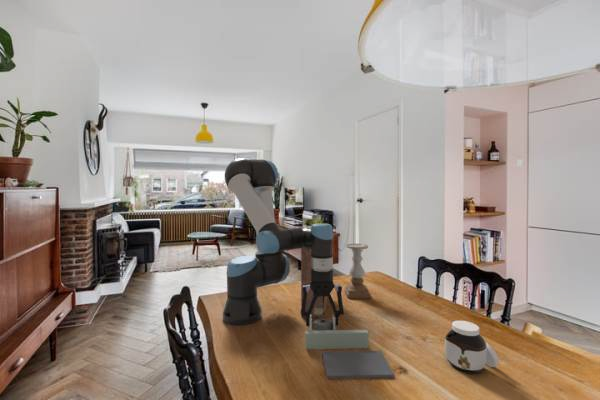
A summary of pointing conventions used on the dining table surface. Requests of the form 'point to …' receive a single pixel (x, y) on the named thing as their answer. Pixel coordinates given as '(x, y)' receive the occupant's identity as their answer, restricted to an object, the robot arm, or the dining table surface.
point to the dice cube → (322, 324)
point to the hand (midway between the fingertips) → (322, 334)
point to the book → (306, 280)
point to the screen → (336, 339)
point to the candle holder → (357, 275)
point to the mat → (356, 364)
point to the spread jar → (468, 348)
